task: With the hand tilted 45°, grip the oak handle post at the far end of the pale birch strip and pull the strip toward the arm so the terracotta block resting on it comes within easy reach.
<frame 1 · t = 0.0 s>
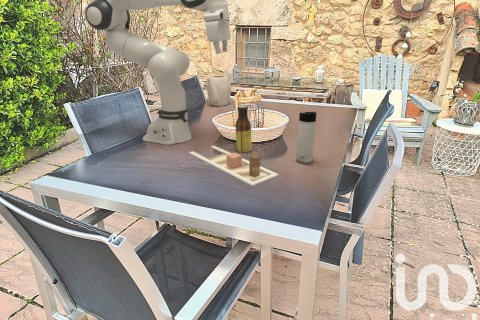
hand: (221, 52, 132), 39 cm above the table, tool pointing down, fingers open, 8 cm apart
sauce bottle: (243, 153, 135), on the table
travel mug: (304, 162, 127), on the table
guide rails: (235, 169, 119), on the table
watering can: (218, 105, 216), on the table
pale strip: (235, 158, 117), point 4 cm above the table, slide at 0.0 cm, touching terracotta block
terracotta block: (234, 165, 119), point 1 cm above the table, touching pale strip
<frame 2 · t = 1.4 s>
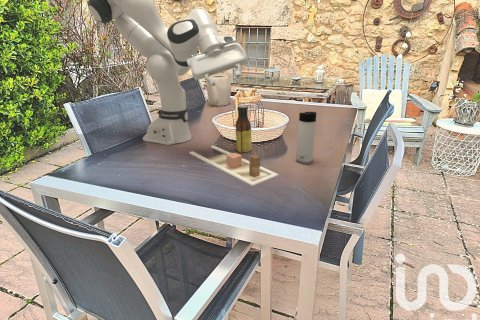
hand: (226, 80, 112), 31 cm above the table, tool tilted 45°, fingers open, 8 cm apart
nothing on the table moved.
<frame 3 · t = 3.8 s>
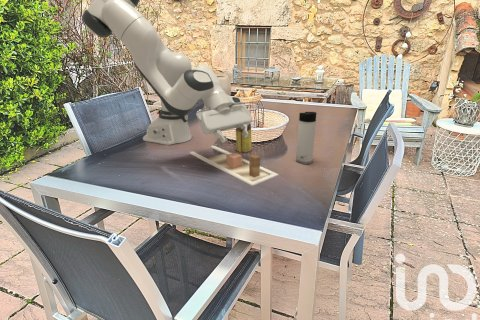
hand: (236, 139, 113), 13 cm above the table, tool tilted 45°, fingers open, 8 cm apart
nothing on the table moved.
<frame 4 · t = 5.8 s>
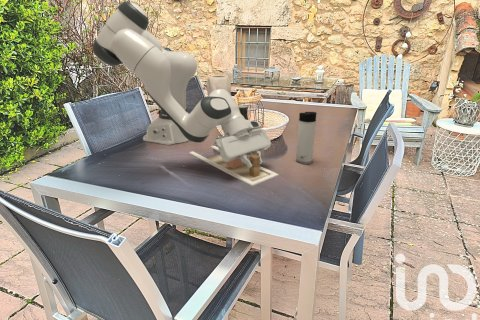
hand: (255, 165, 110), 5 cm above the table, tool tilted 45°, fingers closed on pale strip, 2 cm apart
pale strip: (235, 158, 117), point 4 cm above the table, slide at 0.0 cm, touching gripper, terracotta block
everything else where it was.
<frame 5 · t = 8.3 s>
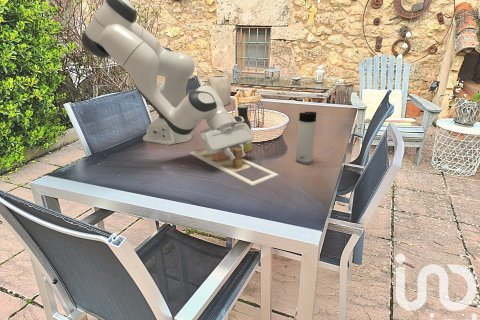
hand: (238, 157, 116), 5 cm above the table, tool tilted 45°, fingers closed on pale strip, 2 cm apart
pale strip: (220, 152, 124), point 4 cm above the table, slide at 9.1 cm, touching gripper, terracotta block
terracotta block: (219, 158, 126), point 1 cm above the table, touching pale strip
everything else where it was.
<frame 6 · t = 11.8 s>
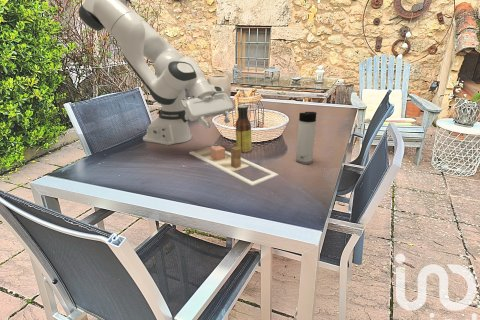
hand: (218, 124, 122), 15 cm above the table, tool tilted 45°, fingers open, 8 cm apart
pale strip: (219, 151, 124), point 4 cm above the table, slide at 10.0 cm, touching terracotta block
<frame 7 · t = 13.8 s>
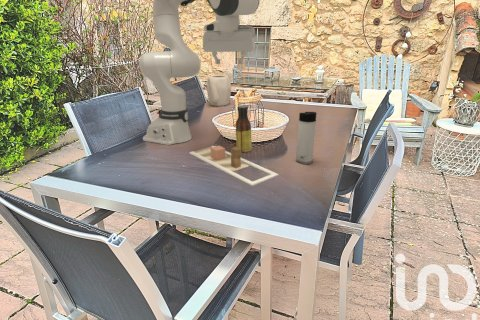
hand: (229, 64, 127), 35 cm above the table, tool pointing down, fingers open, 8 cm apart
nothing on the table moved.
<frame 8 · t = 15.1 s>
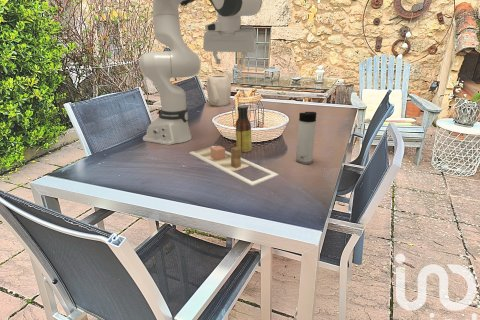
hand: (229, 64, 127), 35 cm above the table, tool pointing down, fingers open, 8 cm apart
nothing on the table moved.
at the end: pale strip slide at 10.0 cm; terracotta block moved 10.0 cm from its start; terracotta block touching pale strip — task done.
